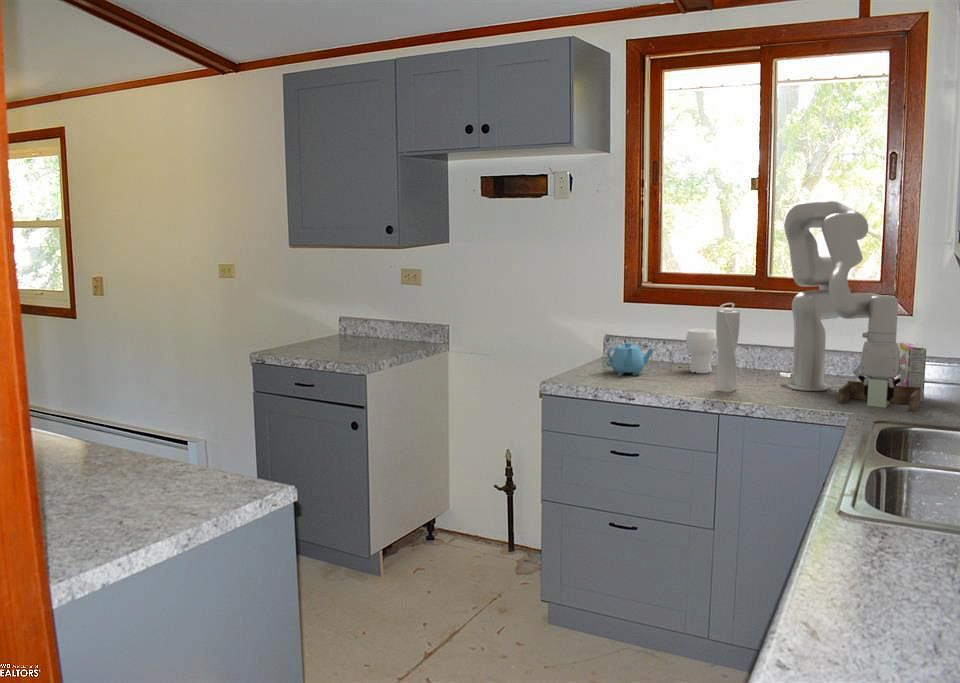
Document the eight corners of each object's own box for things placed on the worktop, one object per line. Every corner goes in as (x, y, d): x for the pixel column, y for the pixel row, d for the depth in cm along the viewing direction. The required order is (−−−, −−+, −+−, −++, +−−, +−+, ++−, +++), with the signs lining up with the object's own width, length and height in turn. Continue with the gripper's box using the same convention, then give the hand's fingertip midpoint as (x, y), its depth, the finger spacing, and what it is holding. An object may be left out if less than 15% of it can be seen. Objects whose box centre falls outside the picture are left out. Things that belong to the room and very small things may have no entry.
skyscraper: (719, 386, 279) (721, 302, 275) (741, 388, 275) (744, 303, 271) (710, 390, 273) (712, 304, 269) (733, 393, 268) (736, 305, 264)
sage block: (867, 405, 249) (868, 378, 248) (870, 402, 253) (872, 376, 252) (885, 407, 246) (887, 380, 245) (889, 404, 250) (890, 377, 249)
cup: (679, 371, 307) (680, 330, 305) (696, 367, 314) (697, 327, 312) (705, 375, 299) (706, 333, 297) (721, 371, 306) (722, 330, 304)
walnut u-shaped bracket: (838, 404, 251) (838, 387, 250) (847, 396, 261) (848, 380, 260) (912, 412, 240) (913, 394, 239) (919, 404, 249) (920, 387, 248)
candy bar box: (895, 394, 264) (898, 342, 261) (912, 394, 263) (916, 342, 260) (905, 401, 253) (909, 347, 251) (924, 402, 252) (927, 347, 250)
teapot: (657, 374, 302) (658, 343, 301) (629, 378, 294) (630, 346, 293) (627, 368, 315) (627, 338, 313) (599, 372, 307) (599, 342, 305)
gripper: (847, 337, 248) (844, 398, 251) (912, 341, 239) (908, 404, 241) (853, 334, 254) (850, 393, 257) (916, 338, 245) (912, 400, 247)
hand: (878, 398), depth 249 cm, fingers closed on sage block, 5 cm apart
